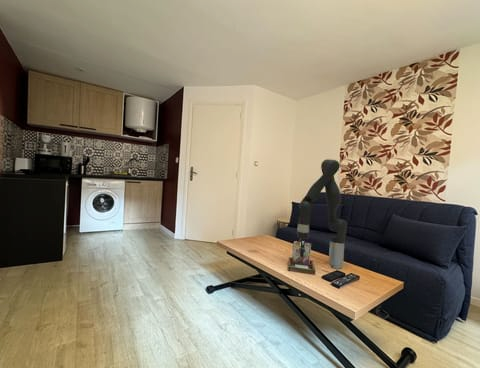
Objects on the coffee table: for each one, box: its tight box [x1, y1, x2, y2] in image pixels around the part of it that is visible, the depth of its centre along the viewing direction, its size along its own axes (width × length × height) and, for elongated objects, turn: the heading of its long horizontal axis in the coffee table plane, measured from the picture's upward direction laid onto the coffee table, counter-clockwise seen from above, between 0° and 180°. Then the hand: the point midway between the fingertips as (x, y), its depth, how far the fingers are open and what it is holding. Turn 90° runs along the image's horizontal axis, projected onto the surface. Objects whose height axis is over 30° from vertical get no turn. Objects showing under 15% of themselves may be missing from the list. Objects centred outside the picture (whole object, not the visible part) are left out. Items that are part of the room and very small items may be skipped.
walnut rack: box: [287, 257, 316, 276], centre depth 149 cm, size 19×16×4 cm
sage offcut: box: [294, 264, 309, 269], centre depth 145 cm, size 6×8×2 cm
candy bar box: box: [291, 240, 312, 264], centre depth 154 cm, size 11×5×16 cm, turn 65°
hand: (301, 254), depth 153 cm, fingers open, 8 cm apart
